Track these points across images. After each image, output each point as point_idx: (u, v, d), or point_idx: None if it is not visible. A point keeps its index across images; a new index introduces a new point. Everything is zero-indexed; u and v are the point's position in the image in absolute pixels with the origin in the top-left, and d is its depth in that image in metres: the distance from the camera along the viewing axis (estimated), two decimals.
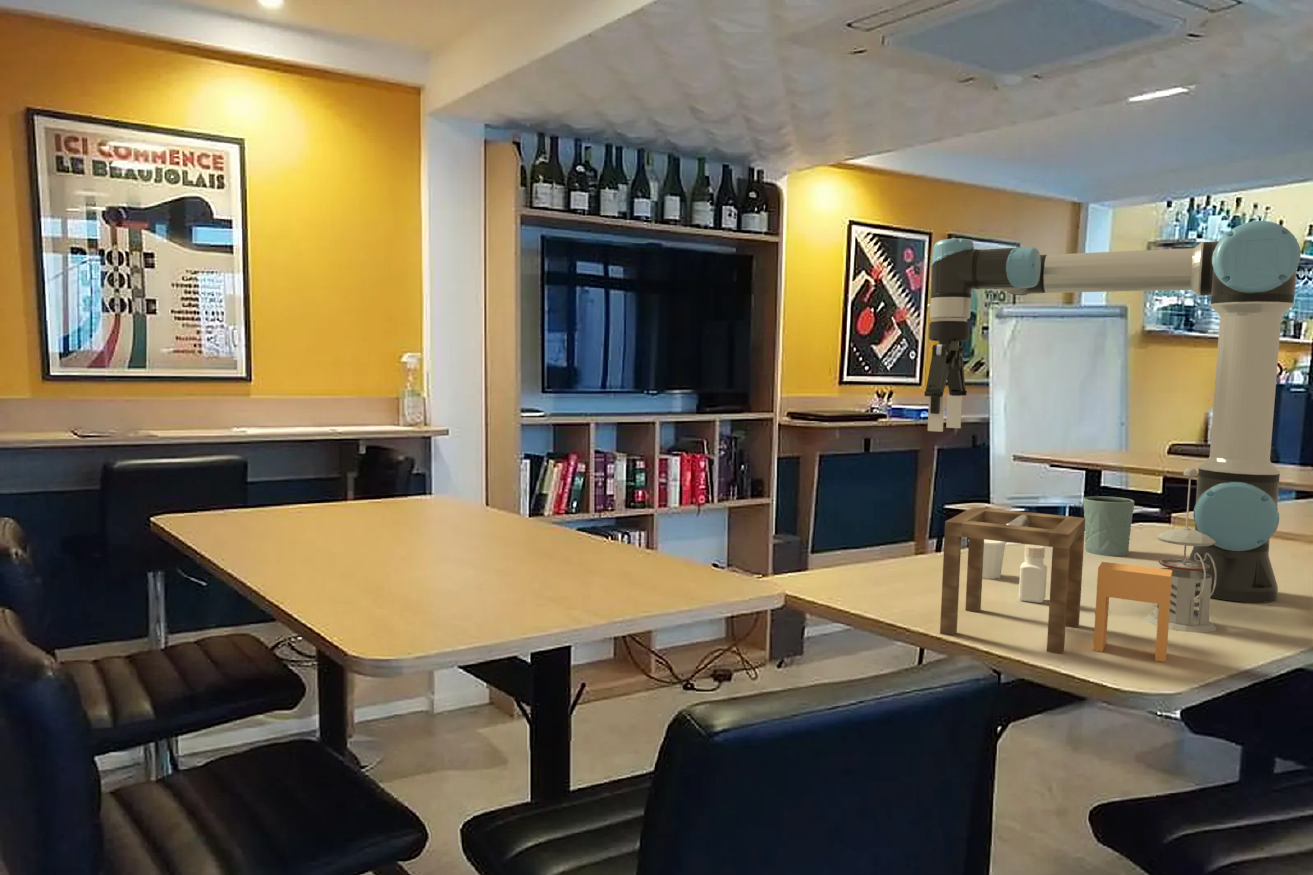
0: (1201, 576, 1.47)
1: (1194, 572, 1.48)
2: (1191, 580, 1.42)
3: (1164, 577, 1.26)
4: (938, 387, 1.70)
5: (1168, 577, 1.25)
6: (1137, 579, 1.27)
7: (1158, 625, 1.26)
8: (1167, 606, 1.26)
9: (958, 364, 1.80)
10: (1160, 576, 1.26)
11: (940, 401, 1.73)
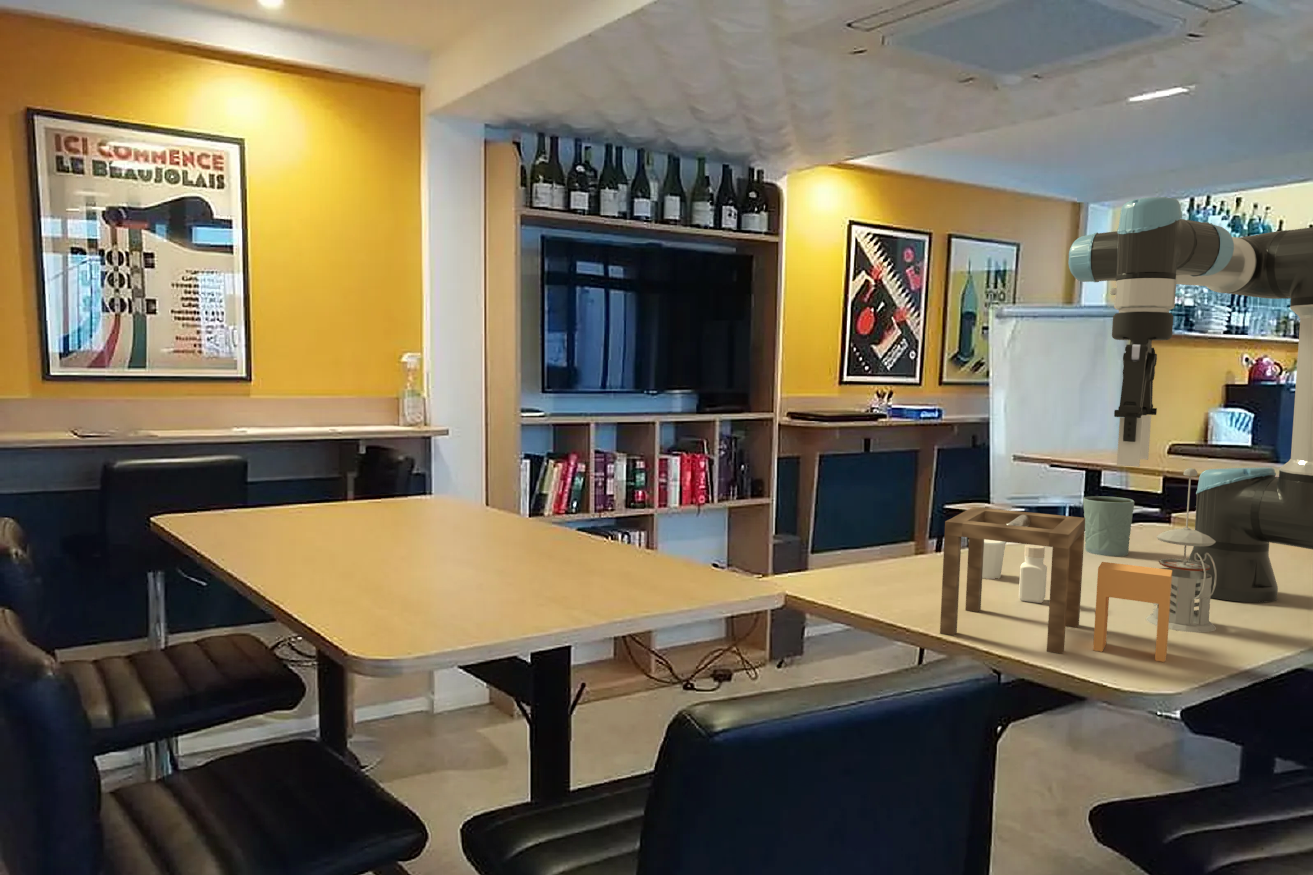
0: (1201, 576, 1.47)
1: (1194, 572, 1.48)
2: (1191, 580, 1.42)
3: (1164, 577, 1.26)
4: (1138, 405, 1.20)
5: (1168, 577, 1.25)
6: (1137, 579, 1.27)
7: (1158, 625, 1.26)
8: (1167, 606, 1.26)
9: (1152, 372, 1.30)
10: (1160, 576, 1.26)
11: (1137, 424, 1.23)
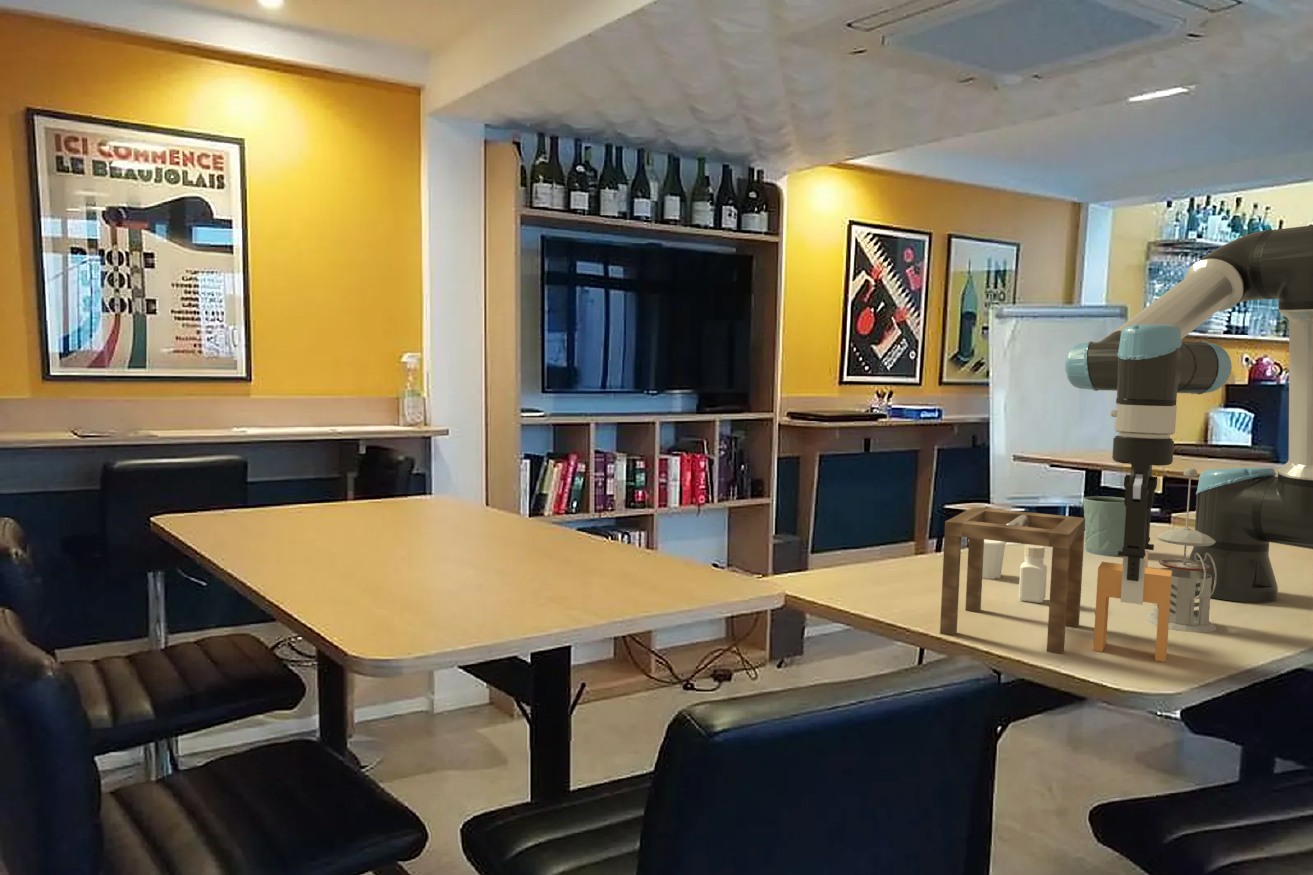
0: (1201, 576, 1.47)
1: (1194, 572, 1.48)
2: (1191, 580, 1.42)
3: (1164, 577, 1.26)
4: (1142, 549, 1.24)
5: (1168, 577, 1.25)
6: None
7: (1158, 625, 1.26)
8: (1167, 606, 1.26)
9: (1152, 496, 1.29)
10: (1160, 576, 1.26)
11: (1141, 563, 1.26)
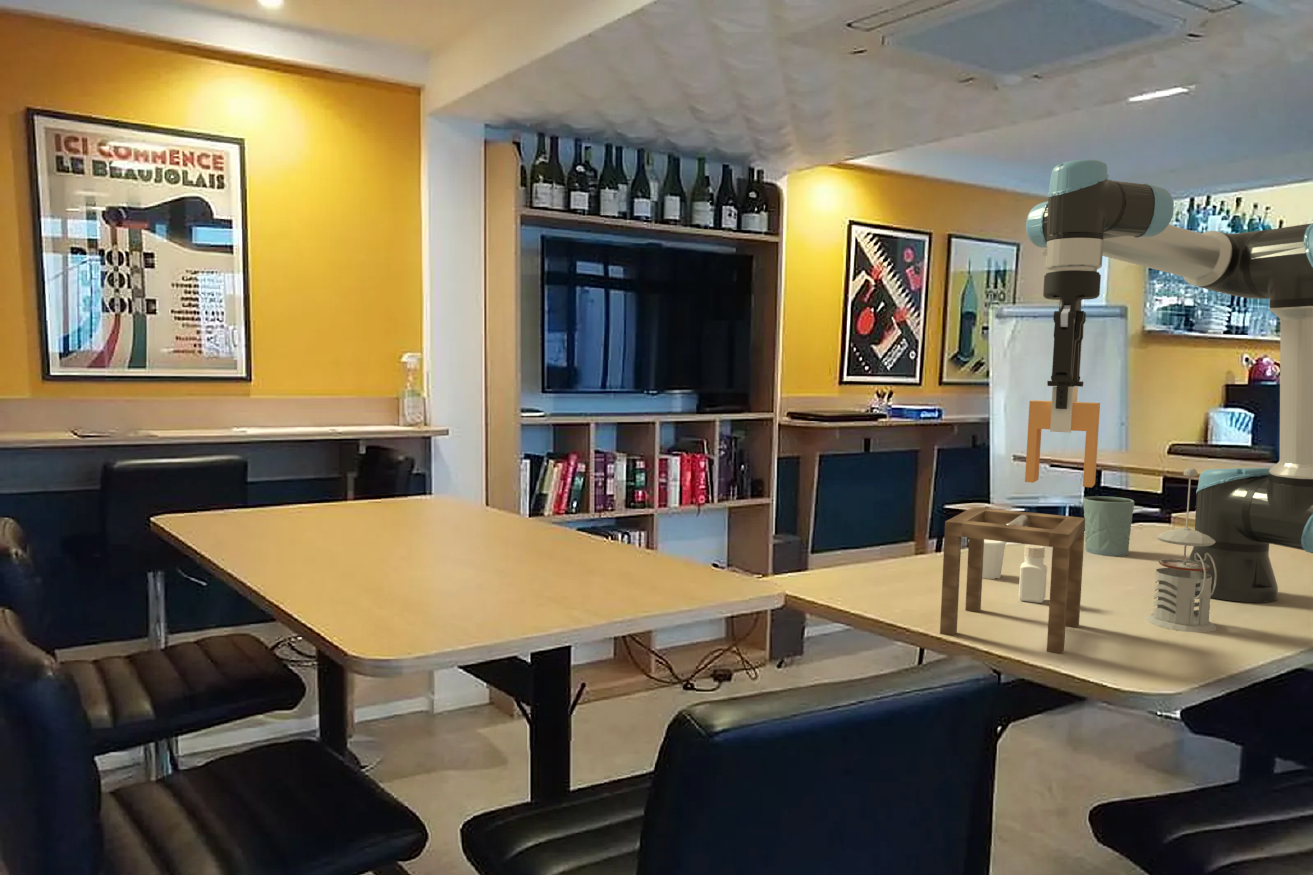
0: (1201, 576, 1.47)
1: (1194, 572, 1.48)
2: (1191, 580, 1.42)
3: (1091, 405, 1.30)
4: (1069, 375, 1.28)
5: (1095, 404, 1.30)
6: None
7: (1085, 452, 1.31)
8: (1094, 432, 1.30)
9: (1081, 331, 1.34)
10: (1087, 404, 1.31)
11: (1069, 392, 1.31)
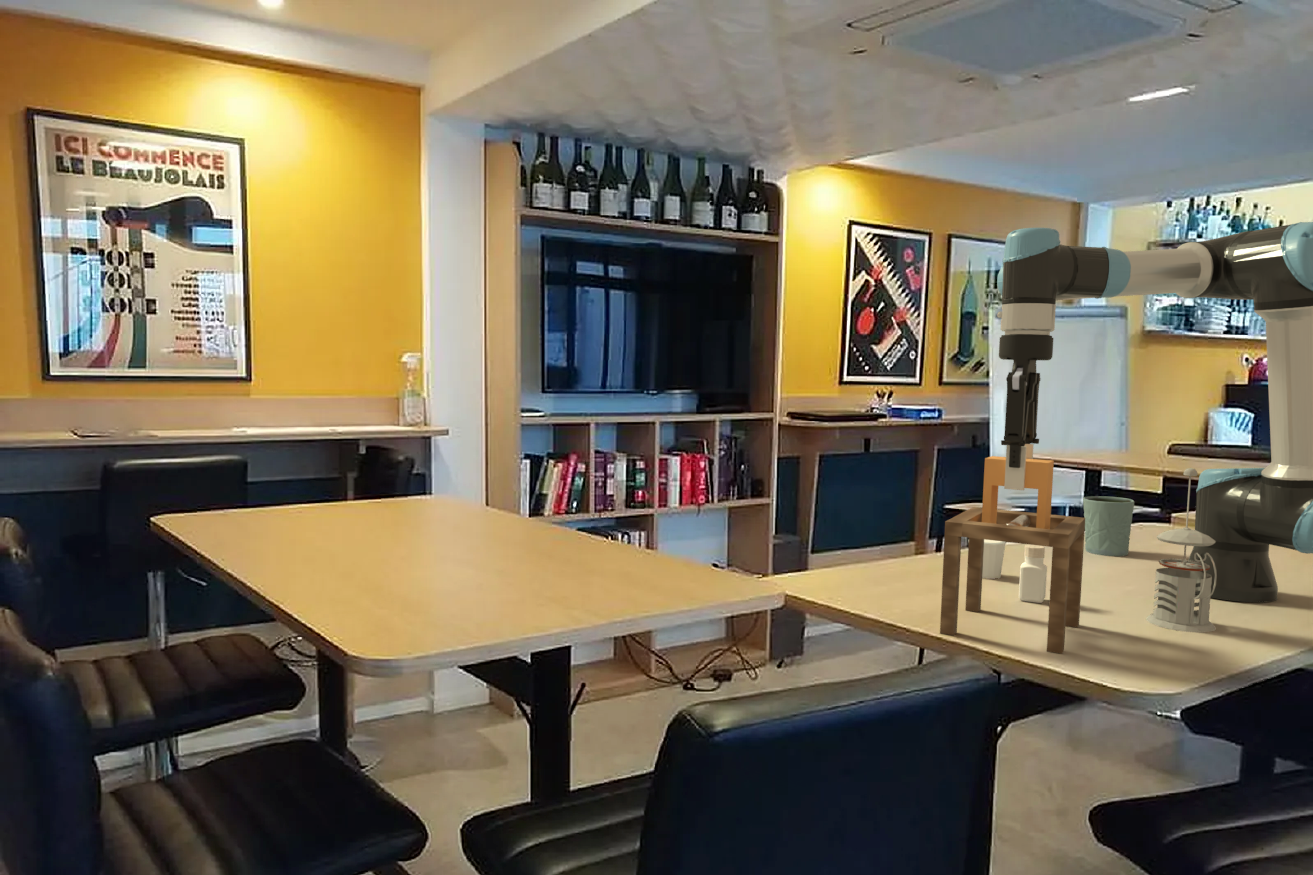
0: (1201, 576, 1.47)
1: (1194, 572, 1.48)
2: (1191, 580, 1.42)
3: (1043, 464, 1.35)
4: (1020, 436, 1.33)
5: (1046, 463, 1.35)
6: None
7: (1038, 509, 1.36)
8: (1045, 491, 1.35)
9: (1035, 391, 1.38)
10: (1039, 463, 1.35)
11: (1022, 452, 1.36)
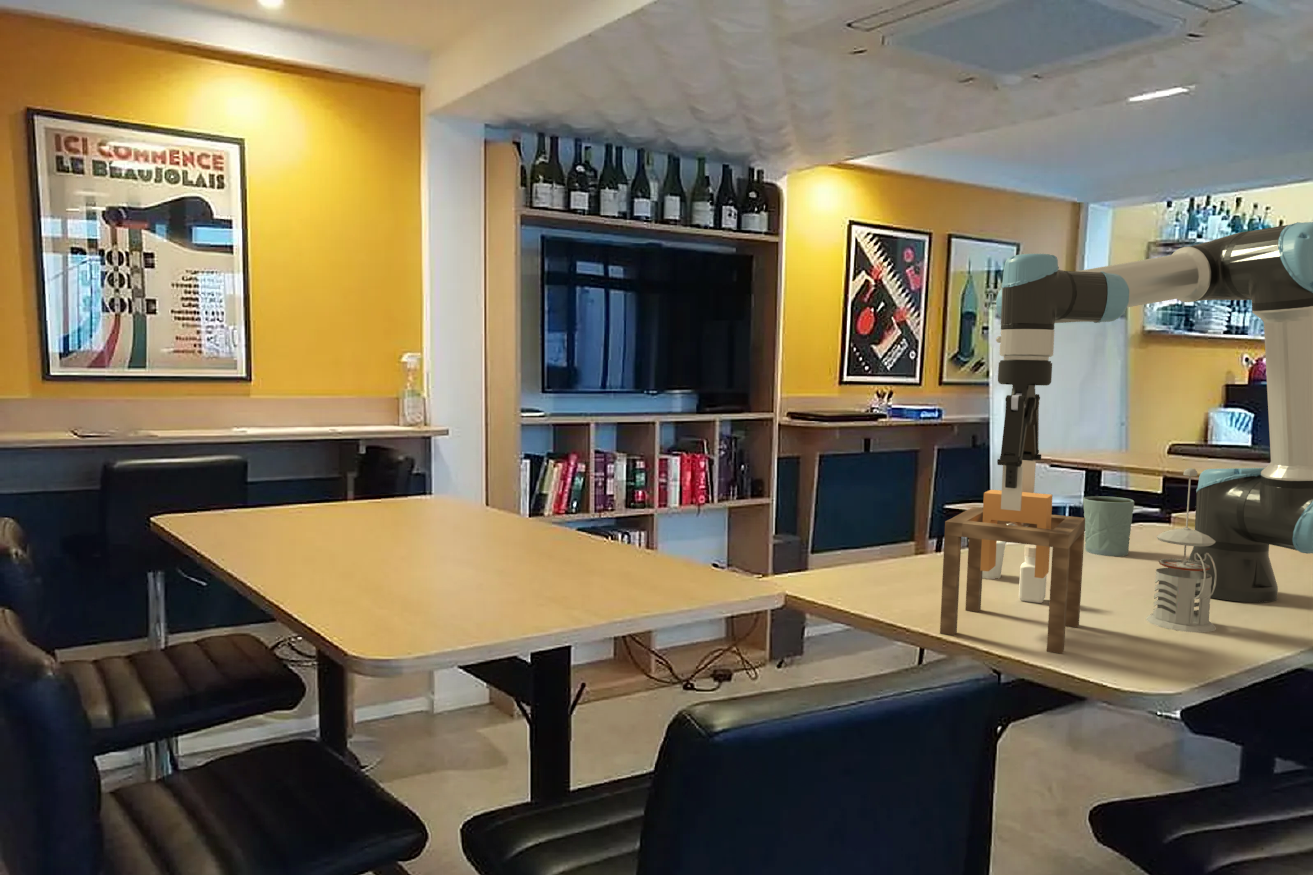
0: (1201, 576, 1.47)
1: (1194, 572, 1.48)
2: (1191, 580, 1.42)
3: (1041, 499, 1.35)
4: (1017, 455, 1.31)
5: (1045, 499, 1.35)
6: None
7: None
8: (1044, 526, 1.35)
9: (1035, 415, 1.39)
10: (1038, 498, 1.36)
11: (1018, 472, 1.34)
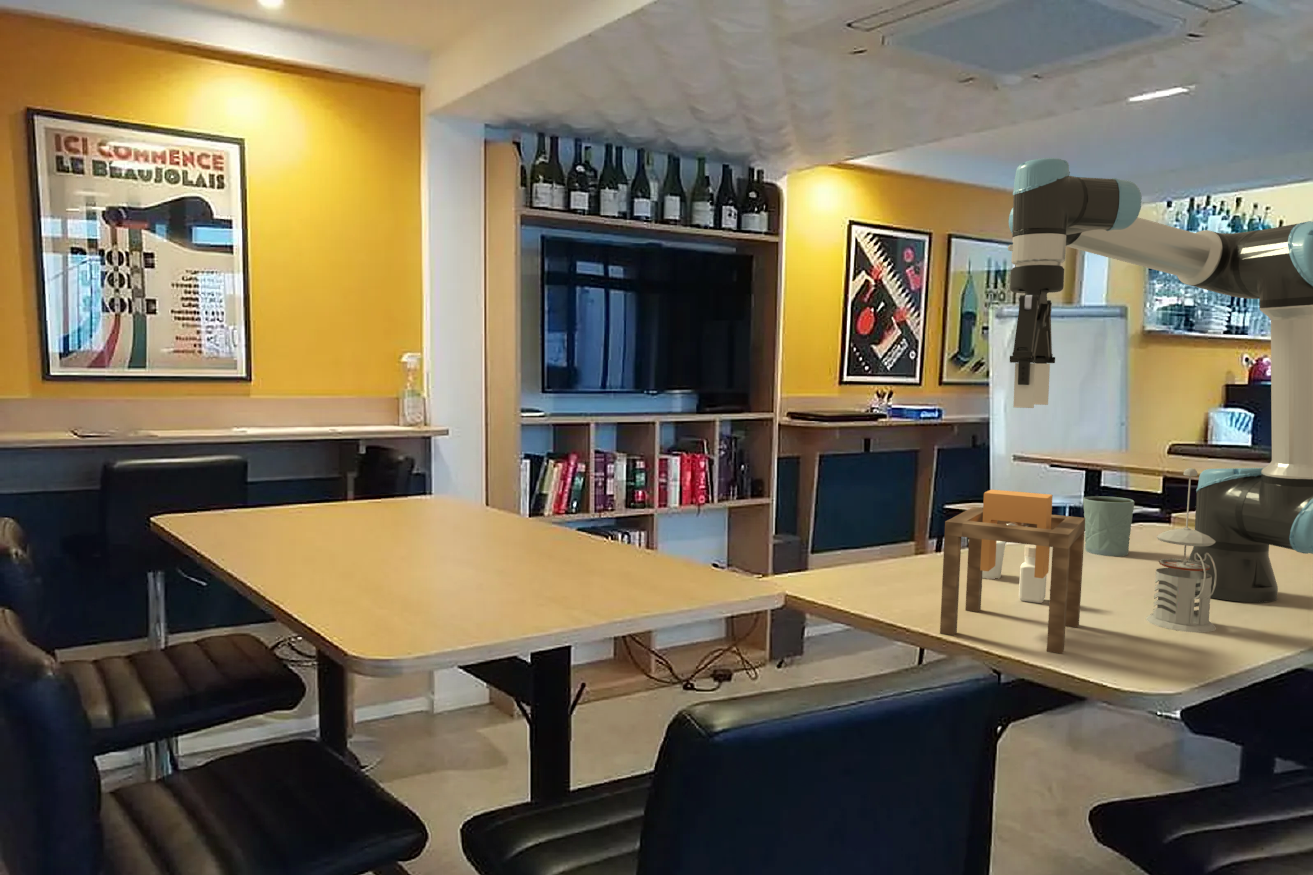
0: (1201, 576, 1.47)
1: (1194, 572, 1.48)
2: (1191, 580, 1.42)
3: (1041, 499, 1.35)
4: (1030, 350, 1.30)
5: (1045, 499, 1.35)
6: (1018, 502, 1.37)
7: None
8: (1044, 526, 1.35)
9: (1048, 322, 1.40)
10: (1038, 498, 1.36)
11: (1031, 368, 1.33)
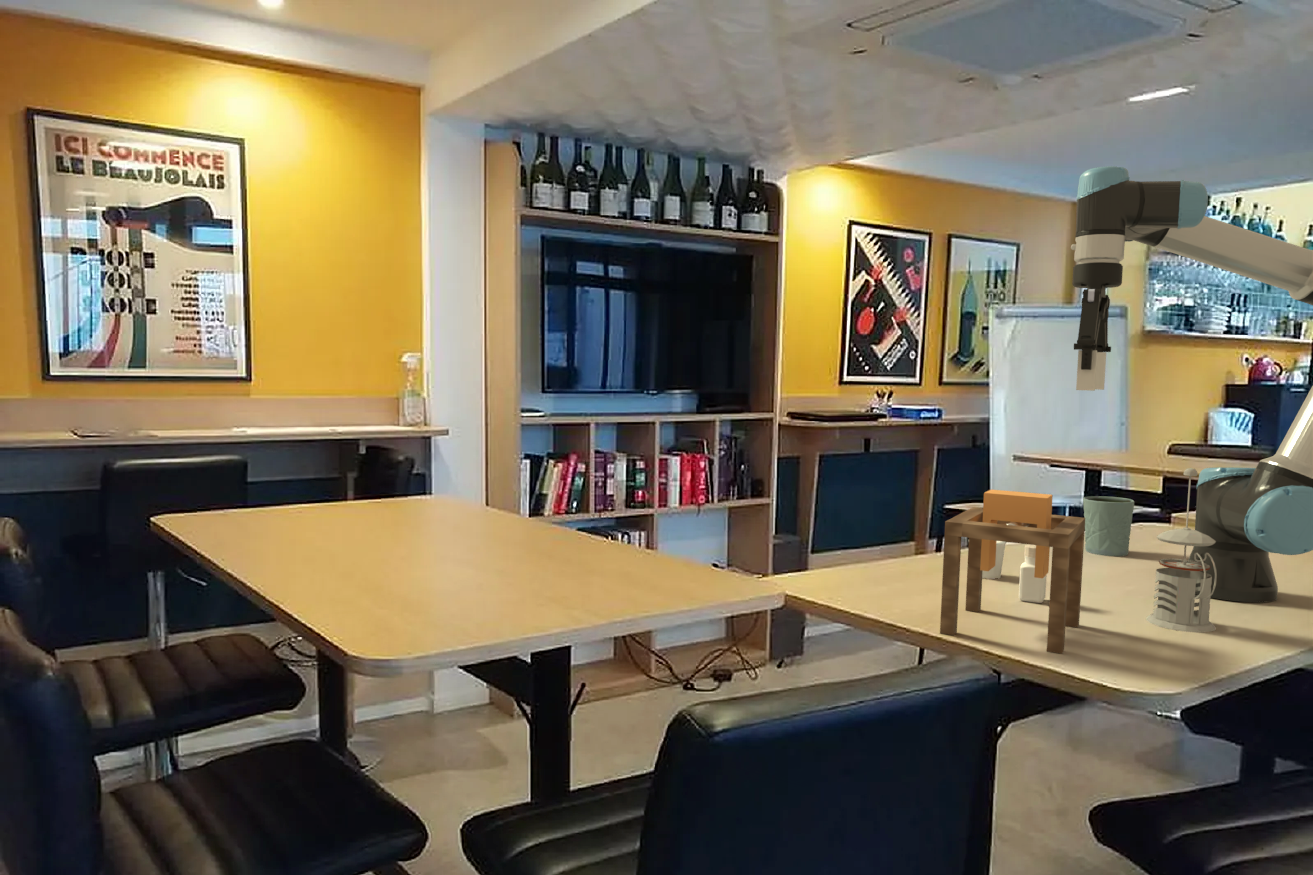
0: (1201, 576, 1.47)
1: (1194, 572, 1.48)
2: (1191, 580, 1.42)
3: (1041, 499, 1.35)
4: (1093, 338, 1.46)
5: (1045, 499, 1.35)
6: (1018, 502, 1.37)
7: None
8: (1044, 526, 1.35)
9: (1106, 314, 1.55)
10: (1038, 498, 1.36)
11: (1093, 355, 1.48)
